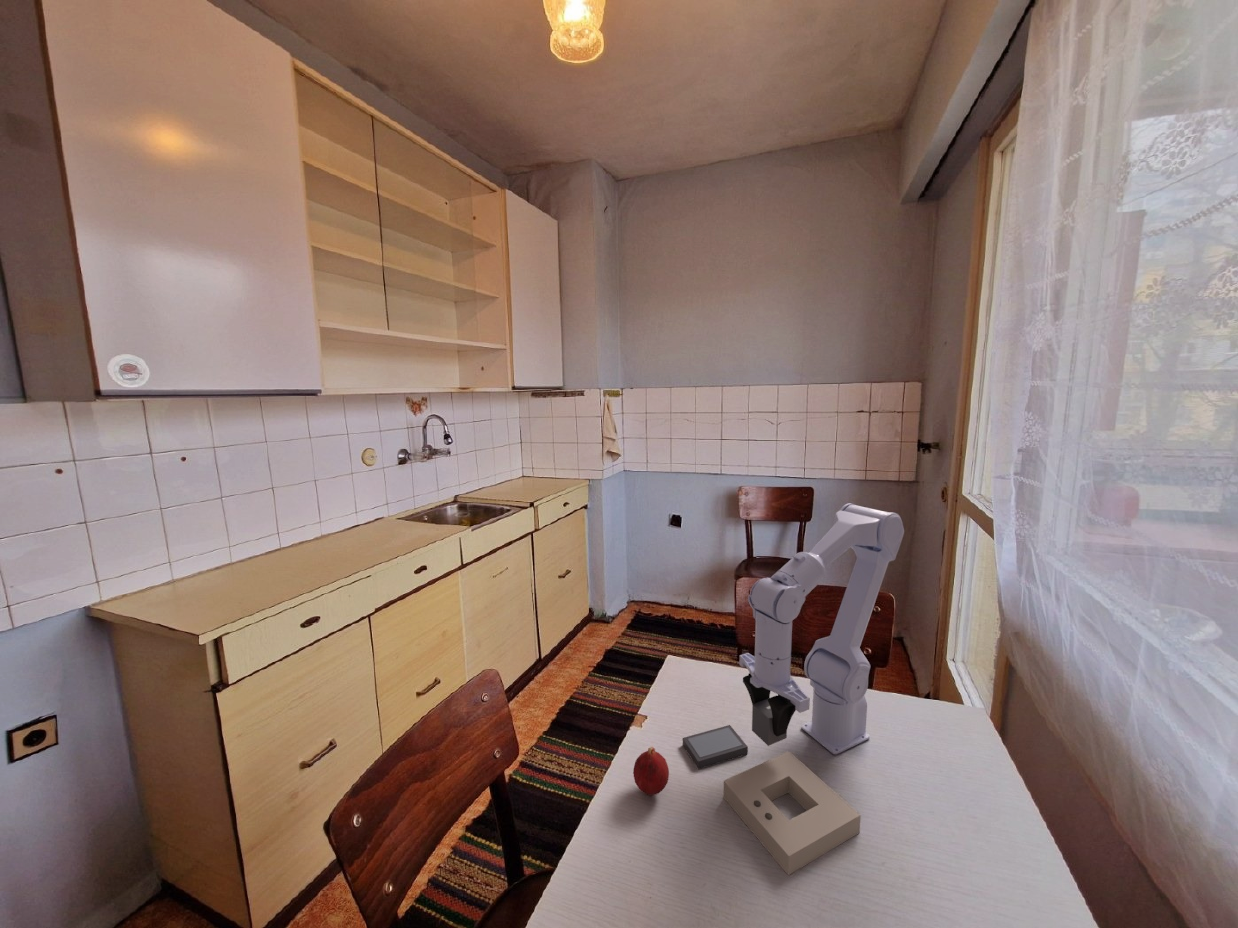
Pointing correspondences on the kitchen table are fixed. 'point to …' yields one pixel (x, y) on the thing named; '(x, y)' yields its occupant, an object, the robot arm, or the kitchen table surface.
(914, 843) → the kitchen table surface
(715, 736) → the phone
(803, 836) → the outlet plate
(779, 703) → the robot arm
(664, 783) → the onion
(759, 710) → the block
